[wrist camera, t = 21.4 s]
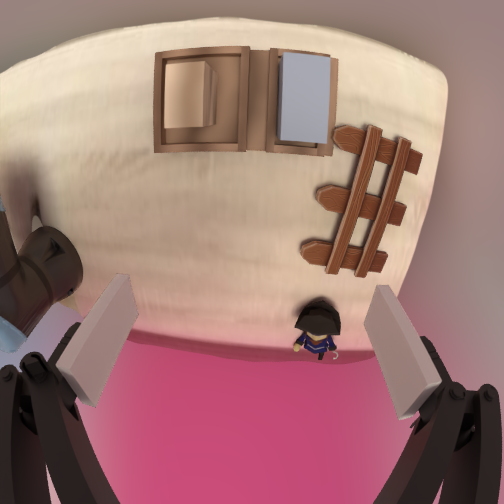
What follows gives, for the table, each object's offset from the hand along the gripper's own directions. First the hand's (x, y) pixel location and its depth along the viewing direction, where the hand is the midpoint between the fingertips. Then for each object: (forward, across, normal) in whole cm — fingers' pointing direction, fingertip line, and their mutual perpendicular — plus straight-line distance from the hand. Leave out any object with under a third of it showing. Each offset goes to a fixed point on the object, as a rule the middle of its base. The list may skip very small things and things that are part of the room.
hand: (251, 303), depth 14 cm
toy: (+27, +12, -27) cm, 40 cm away
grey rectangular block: (+26, +5, +12) cm, 28 cm away
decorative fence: (+26, +16, -2) cm, 31 cm away
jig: (+27, -2, +12) cm, 29 cm away
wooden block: (+26, -8, +11) cm, 29 cm away
